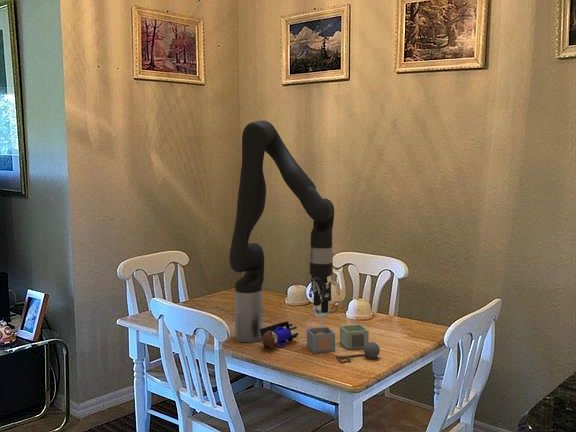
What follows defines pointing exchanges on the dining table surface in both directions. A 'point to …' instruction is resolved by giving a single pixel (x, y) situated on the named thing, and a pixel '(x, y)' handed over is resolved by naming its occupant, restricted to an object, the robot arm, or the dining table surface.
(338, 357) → the dark brown flat frame
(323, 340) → the grey storage bin
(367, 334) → the green storage bin
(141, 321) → the dining table surface
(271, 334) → the character figurine
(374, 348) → the ball charcoal
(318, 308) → the wineglass
